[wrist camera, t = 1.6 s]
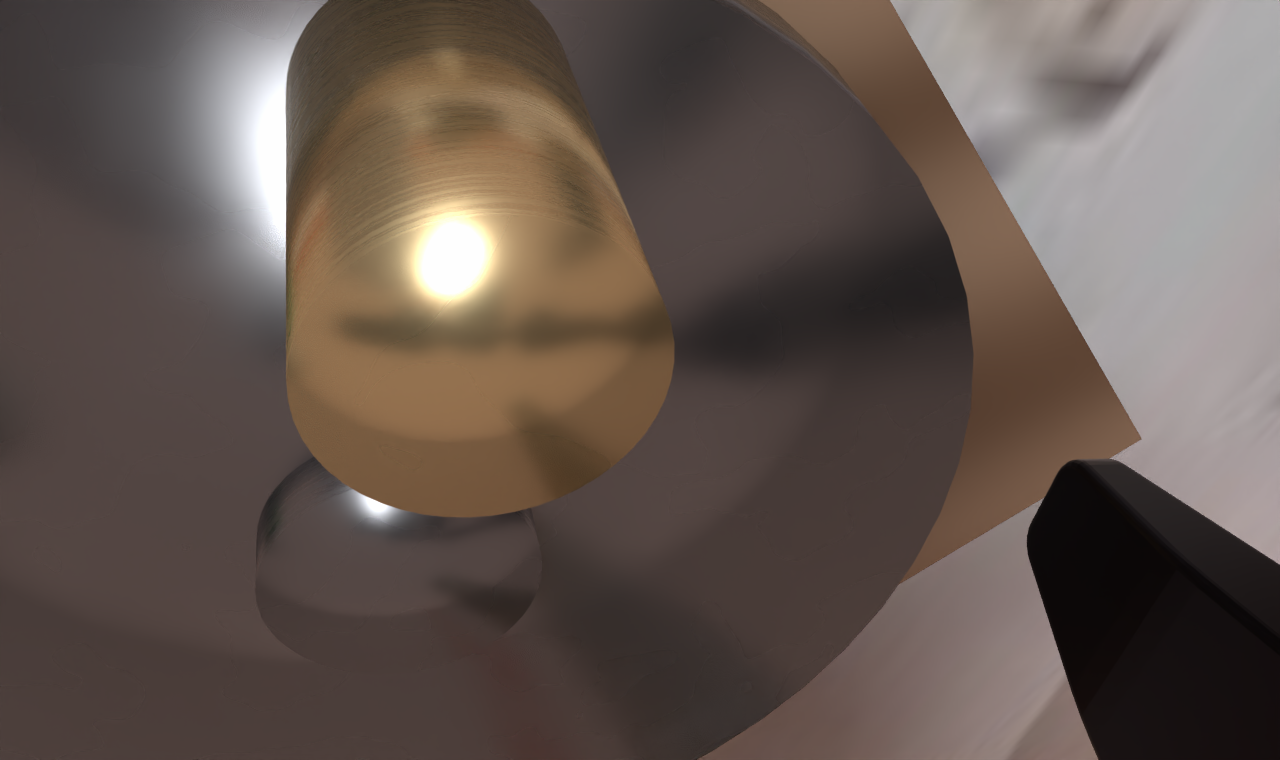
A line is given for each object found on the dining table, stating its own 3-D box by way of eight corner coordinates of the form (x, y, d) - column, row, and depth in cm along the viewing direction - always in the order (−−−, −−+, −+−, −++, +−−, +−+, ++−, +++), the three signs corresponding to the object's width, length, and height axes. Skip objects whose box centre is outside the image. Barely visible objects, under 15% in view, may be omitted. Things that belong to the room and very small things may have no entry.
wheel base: (1066, 343, 26) (1144, 442, 23) (352, 792, 30) (358, 912, 28) (440, -715, 13) (473, -726, 11) (-615, 328, 18) (-750, 475, 15)
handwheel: (781, 752, 27) (888, 1058, 22) (-140, 838, 22) (-258, 1256, 17) (1114, -46, 16) (1465, 214, 11) (-553, -234, 11) (-1184, 85, 6)
